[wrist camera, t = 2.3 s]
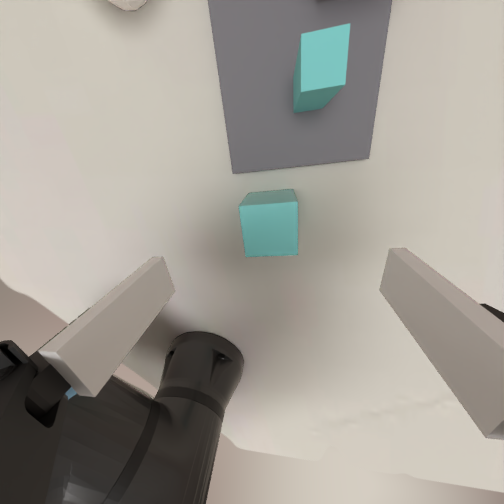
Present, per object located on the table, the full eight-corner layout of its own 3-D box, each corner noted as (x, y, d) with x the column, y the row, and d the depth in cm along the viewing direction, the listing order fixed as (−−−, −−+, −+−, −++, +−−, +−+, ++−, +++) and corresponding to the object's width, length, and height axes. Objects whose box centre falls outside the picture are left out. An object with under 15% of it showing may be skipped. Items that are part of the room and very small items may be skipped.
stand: (234, 172, 22) (211, 182, 15) (198, -88, 14) (104, -365, 7) (364, 158, 20) (417, 161, 12) (409, -161, 12) (637, -713, 4)
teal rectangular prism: (253, 233, 25) (245, 257, 19) (248, 192, 23) (238, 206, 17) (293, 230, 24) (297, 255, 19) (292, 189, 22) (297, 201, 16)
